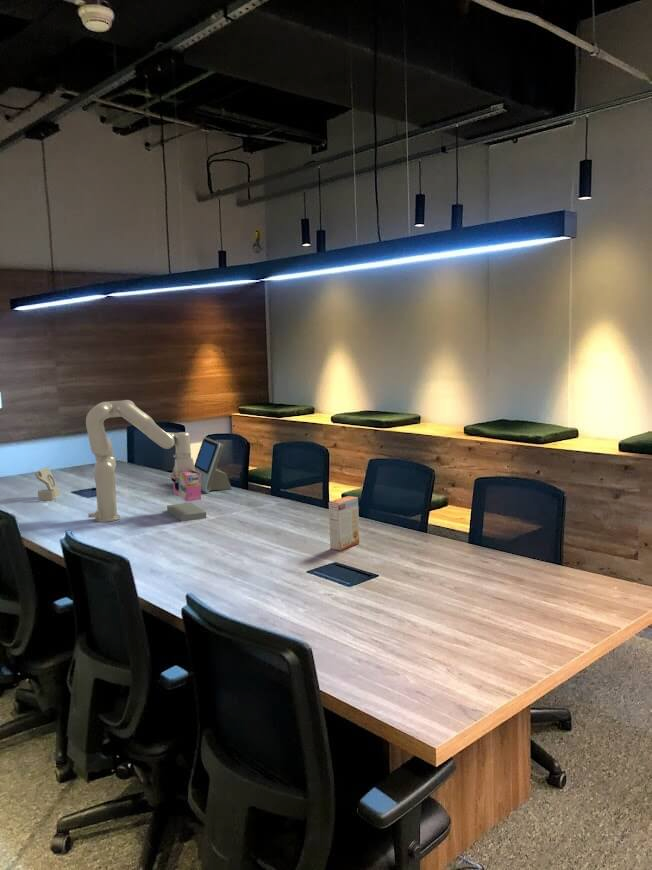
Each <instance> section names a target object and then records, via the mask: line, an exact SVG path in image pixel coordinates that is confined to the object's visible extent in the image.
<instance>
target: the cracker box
mask: <svg viewBox="0 0 652 870" xmlns="http://www.w3.org/2000/svg"><path fill="white" fill-rule="evenodd" d="M328 516H329V518H328V521H329V523H328V524H329V541H330V542H329V545H330V550H333V551H334V550H335V551H338V552H339V551H341V552H342V551H343V550H346V549H348V548H350V547H353V546H356V545H359V544H360V520H359V519H360V518H359V517H360V516H359V497H357V496H352V495H347V496H344V497H341V498H338V499H334V500H332V501H329V502H328Z"/></svg>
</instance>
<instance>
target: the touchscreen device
mask: <svg viewBox="0 0 652 870" xmlns="http://www.w3.org/2000/svg"><path fill="white" fill-rule="evenodd" d="M223 449H224V444H223V443H222V442H218V441H215V440H214V439H211V438H209V437H203V439H202V442H201V445H200V448H199V450H198V454H197V457H196V460H195V461H194V468H195V470H197V471H199V472H200V484H201V492H204V493H205V494H209V492H210V491H223V490H232V486H231V485H232V484H231V482H230V480H229V476H228V475H227V473H226V472H224V471H222V470H221V469H219V468H218V464H219V463H220V462H219V461H220V458H221V455H222V453H223Z"/></svg>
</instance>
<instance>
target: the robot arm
mask: <svg viewBox="0 0 652 870" xmlns="http://www.w3.org/2000/svg"><path fill="white" fill-rule="evenodd" d="M120 417H122V418H123V419H124V420H125V421H127V422H128V423H129V424H131V425H132V426H134V427H135V428H136V429H138V430H139V431H140V432H141V433H143V434H144V435H145V436H147V438H149V440H152V442H154V443H155V444H157V445H158V447H159V446H160V447H161V448H162V449H166V450H169V449H171V448H173V446H175V454H173V456H172V457H173V458H175V459H174V464H173V466H174V467H173V469H174V471H173V470H172V472H171V473H170V474H168V478H169V479H170V480H171V481H172V482H174V483H175V489H176V490H177V491H178V490H179V486H178V479H179V472H180V473H187V472H192V473H193V471H195V472H198V473H200V472H199V471H197V470H195V468H194V465H195V461H194V459H193V457H192V452H191V438H190V437H191V435H190V433H189V432H187V431H186V432H185V431H180V432H171V431H170V432H168V431H167V432H166V431H165V430H164V429H162V428H161V427H160V426H159V425H158V424H157V423H156V422H155V421H154V419H153V418H152V417H151V416H150V415H149V414H147V413H146V412H144V411H143V410H141V408H139V407H137V405H135V402H134V401H132V400H130V399H124V400H123V399H122V400H111V401H102V402H99V403H98V404H96V405H95V406H94V407H92V408H91V409H90V410H89V411H88V413H87V415H86V418H85V427H86V430H87V435H88V436H87V437H88V441H89V445H90V446H89V447H90V451H91V453H92V454H93V455H94V458H95V461H96V463H95V464H94V466H93V467H94V468H93V473H94V482H95V493H96V507H97V510H96V511H95V512H93V513H88V514H87V515H88V518H94V520H95V522H100V523H106V522H107V523H108V522H109V523H110V522H115V521H119V520H120V519H121V515H120V514H118V508H117V507H118V506H117V504H118V503H117V491H116V480H115V479H116V478H115V470H116V467H117V462H116V457H115V453H114V448H113V444H112V441H111V440H110V438H108V437H107V434H106V428H105V426H104V422H105V420H107V419H109V418H120ZM173 475H174V476H175V477H176V478H175V479H174V478H173Z"/></svg>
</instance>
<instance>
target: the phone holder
mask: <svg viewBox="0 0 652 870" xmlns="http://www.w3.org/2000/svg"><path fill="white" fill-rule="evenodd" d="M34 476H35V477H36V479H37V480H39V482H41V483H42V484H44V485H45V487H46V488H47V489H39V490H37V496H38V499H37V501H38V500H39V501H52V500H56V497H57V496H59V495H61V494H62V493H61V492H60V489H59V486H58V485H57V482H56V480H55V478H54V475H53V474H52V471H51V470H50V468H49V467H45V468H41V469H40V470H37V471H35V475H34ZM56 501H57V500H56Z"/></svg>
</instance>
